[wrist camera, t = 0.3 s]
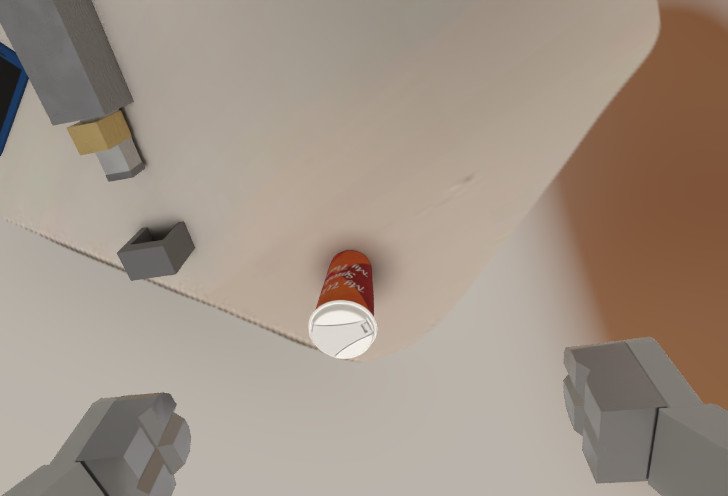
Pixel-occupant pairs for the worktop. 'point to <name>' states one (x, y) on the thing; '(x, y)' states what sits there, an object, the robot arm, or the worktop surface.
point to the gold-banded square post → (108, 144)
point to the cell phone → (10, 90)
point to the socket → (156, 253)
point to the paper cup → (345, 308)
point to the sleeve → (65, 57)
